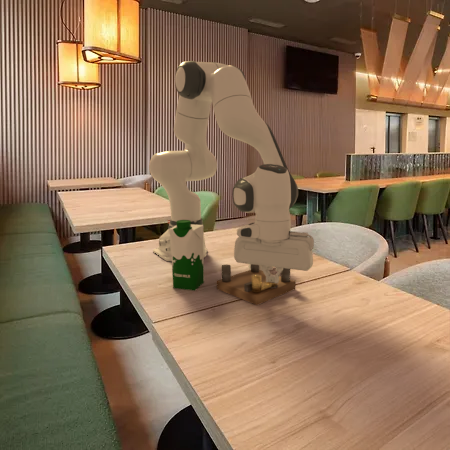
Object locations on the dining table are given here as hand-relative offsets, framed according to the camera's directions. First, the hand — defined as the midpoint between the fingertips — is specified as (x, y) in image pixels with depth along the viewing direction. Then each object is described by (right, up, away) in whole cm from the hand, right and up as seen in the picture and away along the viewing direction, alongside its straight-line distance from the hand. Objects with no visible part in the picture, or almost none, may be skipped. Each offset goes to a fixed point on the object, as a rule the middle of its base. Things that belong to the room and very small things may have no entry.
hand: (272, 282), depth 100 cm
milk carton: (-23, -3, +16) cm, 28 cm away
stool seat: (-3, -4, +12) cm, 13 cm away
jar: (0, 0, +30) cm, 30 cm away
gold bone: (-2, -2, +5) cm, 6 cm away
